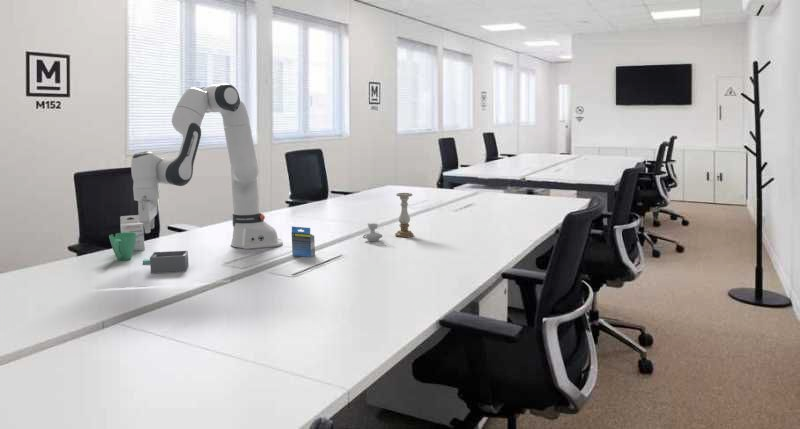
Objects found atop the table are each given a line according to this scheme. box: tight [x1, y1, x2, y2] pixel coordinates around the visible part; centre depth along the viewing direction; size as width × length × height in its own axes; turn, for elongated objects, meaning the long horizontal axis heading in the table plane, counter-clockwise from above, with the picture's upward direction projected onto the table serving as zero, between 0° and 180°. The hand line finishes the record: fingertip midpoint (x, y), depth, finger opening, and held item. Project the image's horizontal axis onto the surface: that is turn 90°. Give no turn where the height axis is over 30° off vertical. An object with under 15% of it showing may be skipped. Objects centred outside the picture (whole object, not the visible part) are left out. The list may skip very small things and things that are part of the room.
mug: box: [108, 232, 136, 261], centre depth 247 cm, size 15×10×10 cm
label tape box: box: [291, 226, 316, 258], centre depth 256 cm, size 9×4×12 cm, turn 71°
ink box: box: [119, 214, 146, 252], centre depth 266 cm, size 8×5×15 cm, turn 123°
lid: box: [142, 258, 150, 265], centre depth 242 cm, size 16×8×3 cm, turn 102°
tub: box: [149, 250, 189, 274], centre depth 230 cm, size 12×9×7 cm
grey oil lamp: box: [362, 222, 383, 243], centre depth 285 cm, size 9×7×8 cm
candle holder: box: [394, 192, 414, 238], centre depth 297 cm, size 9×9×20 cm
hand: (149, 230), depth 238 cm, fingers open, 8 cm apart
